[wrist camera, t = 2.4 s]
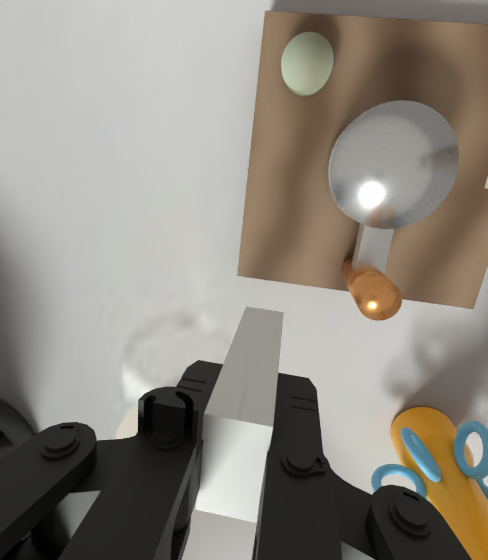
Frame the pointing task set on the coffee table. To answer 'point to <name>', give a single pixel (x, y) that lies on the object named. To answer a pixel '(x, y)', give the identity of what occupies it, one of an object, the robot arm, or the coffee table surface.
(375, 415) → the coffee table surface
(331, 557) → the robot arm
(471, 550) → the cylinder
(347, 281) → the knob
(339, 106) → the base
